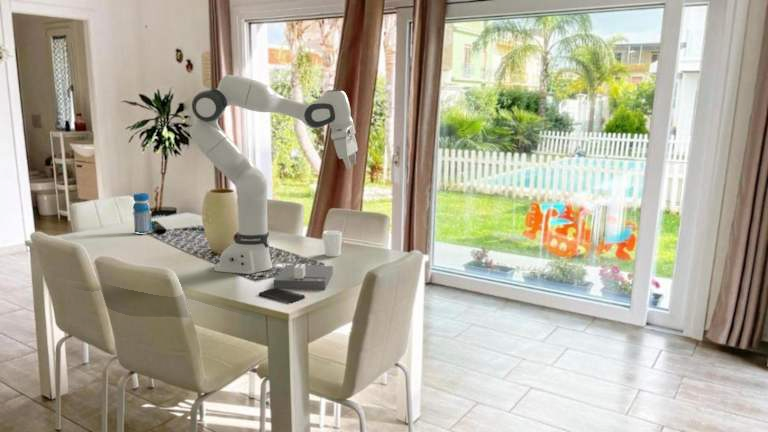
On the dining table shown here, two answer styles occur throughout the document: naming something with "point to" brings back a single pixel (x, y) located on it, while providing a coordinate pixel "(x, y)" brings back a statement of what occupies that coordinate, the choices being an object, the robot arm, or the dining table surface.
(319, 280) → the mixer panel
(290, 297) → the phone
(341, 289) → the dining table surface
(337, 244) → the white cup
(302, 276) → the fader knob
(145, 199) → the beverage bottle
